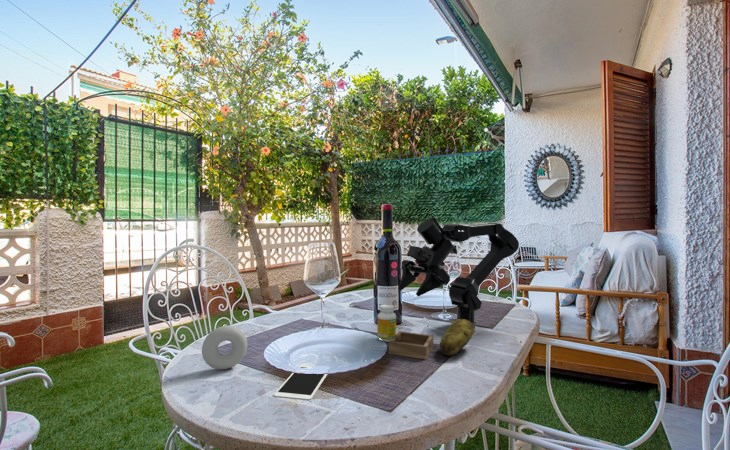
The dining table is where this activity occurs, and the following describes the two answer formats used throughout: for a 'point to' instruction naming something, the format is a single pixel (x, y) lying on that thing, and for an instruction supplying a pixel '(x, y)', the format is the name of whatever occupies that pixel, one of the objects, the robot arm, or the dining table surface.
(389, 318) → the supplement bottle
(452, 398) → the dining table surface
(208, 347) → the donut
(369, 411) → the dining table surface
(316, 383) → the cell phone
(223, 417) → the dining table surface
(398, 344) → the open wooden box
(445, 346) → the potato
